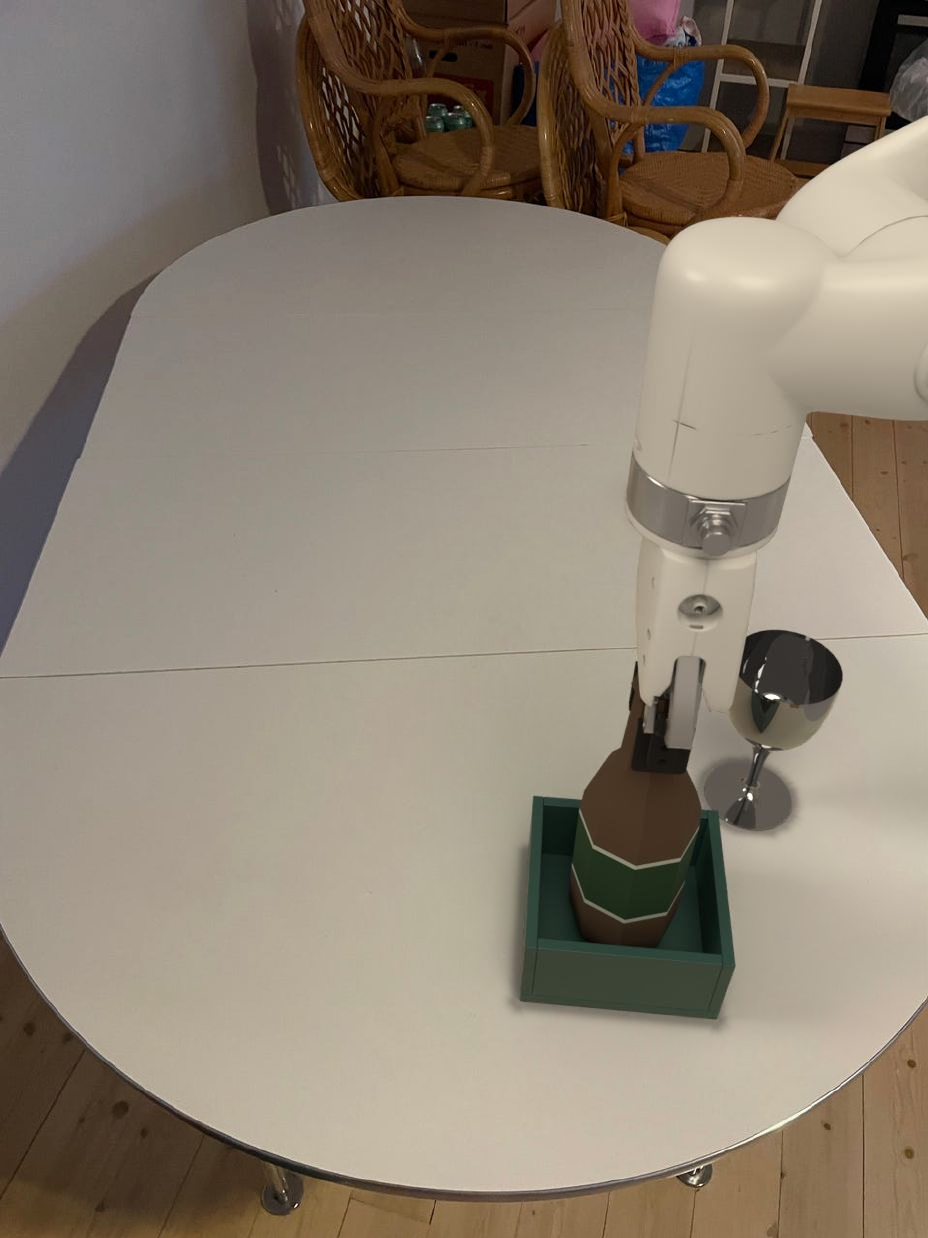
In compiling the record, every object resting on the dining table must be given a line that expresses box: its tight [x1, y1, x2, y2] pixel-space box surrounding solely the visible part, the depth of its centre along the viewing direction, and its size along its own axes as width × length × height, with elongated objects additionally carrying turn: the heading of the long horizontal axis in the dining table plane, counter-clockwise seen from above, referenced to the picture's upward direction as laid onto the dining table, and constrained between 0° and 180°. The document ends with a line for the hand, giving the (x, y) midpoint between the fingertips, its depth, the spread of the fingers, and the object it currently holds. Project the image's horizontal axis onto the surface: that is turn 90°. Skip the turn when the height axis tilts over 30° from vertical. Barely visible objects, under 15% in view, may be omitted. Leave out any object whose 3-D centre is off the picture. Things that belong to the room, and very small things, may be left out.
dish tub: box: [519, 795, 736, 1020], centre depth 75 cm, size 14×13×7 cm
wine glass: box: [703, 629, 844, 831], centre depth 81 cm, size 8×8×15 cm
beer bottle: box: [569, 673, 703, 948], centre depth 67 cm, size 8×8×24 cm
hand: (656, 737), depth 63 cm, fingers closed on beer bottle, 3 cm apart
